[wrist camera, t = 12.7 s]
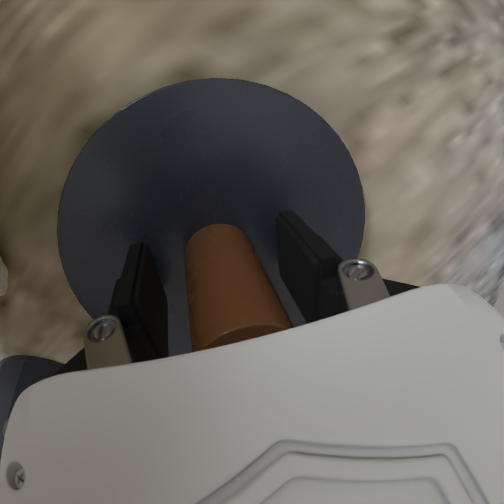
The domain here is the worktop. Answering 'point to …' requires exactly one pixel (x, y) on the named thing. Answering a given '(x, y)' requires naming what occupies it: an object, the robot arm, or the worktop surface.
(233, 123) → the lid
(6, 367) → the pot
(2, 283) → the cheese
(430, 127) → the worktop surface
